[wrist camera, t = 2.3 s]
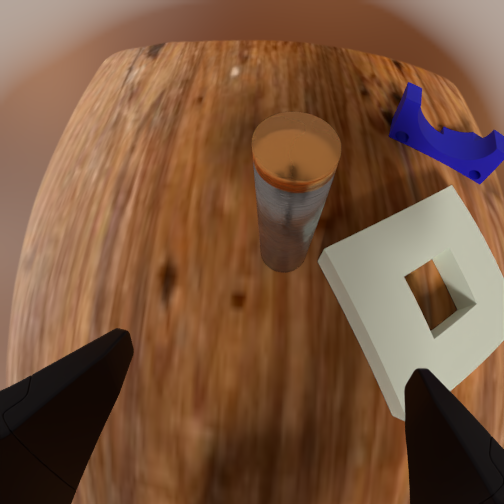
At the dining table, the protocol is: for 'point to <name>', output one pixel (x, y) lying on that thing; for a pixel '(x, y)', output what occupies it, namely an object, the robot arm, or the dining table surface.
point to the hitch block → (404, 303)
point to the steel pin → (291, 183)
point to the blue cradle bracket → (446, 140)
